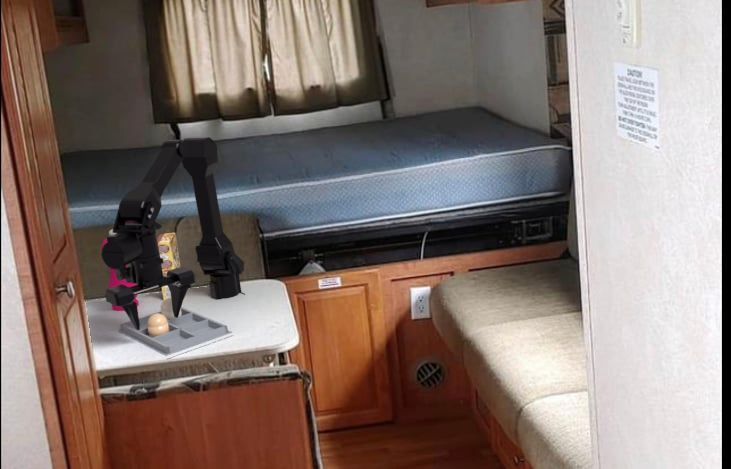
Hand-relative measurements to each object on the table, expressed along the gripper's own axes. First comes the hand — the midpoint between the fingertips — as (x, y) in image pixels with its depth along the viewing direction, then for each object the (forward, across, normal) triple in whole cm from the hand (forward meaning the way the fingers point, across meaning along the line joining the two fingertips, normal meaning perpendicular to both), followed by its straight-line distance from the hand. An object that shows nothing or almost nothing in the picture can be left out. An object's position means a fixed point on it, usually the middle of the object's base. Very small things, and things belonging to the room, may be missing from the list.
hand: (157, 323), depth 206 cm
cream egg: (+3, -7, -7) cm, 10 cm away
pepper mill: (+4, -4, -26) cm, 27 cm away
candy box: (+4, -16, -24) cm, 29 cm away
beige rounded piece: (+3, 0, 0) cm, 3 cm away
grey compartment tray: (+4, -4, 0) cm, 5 cm away
